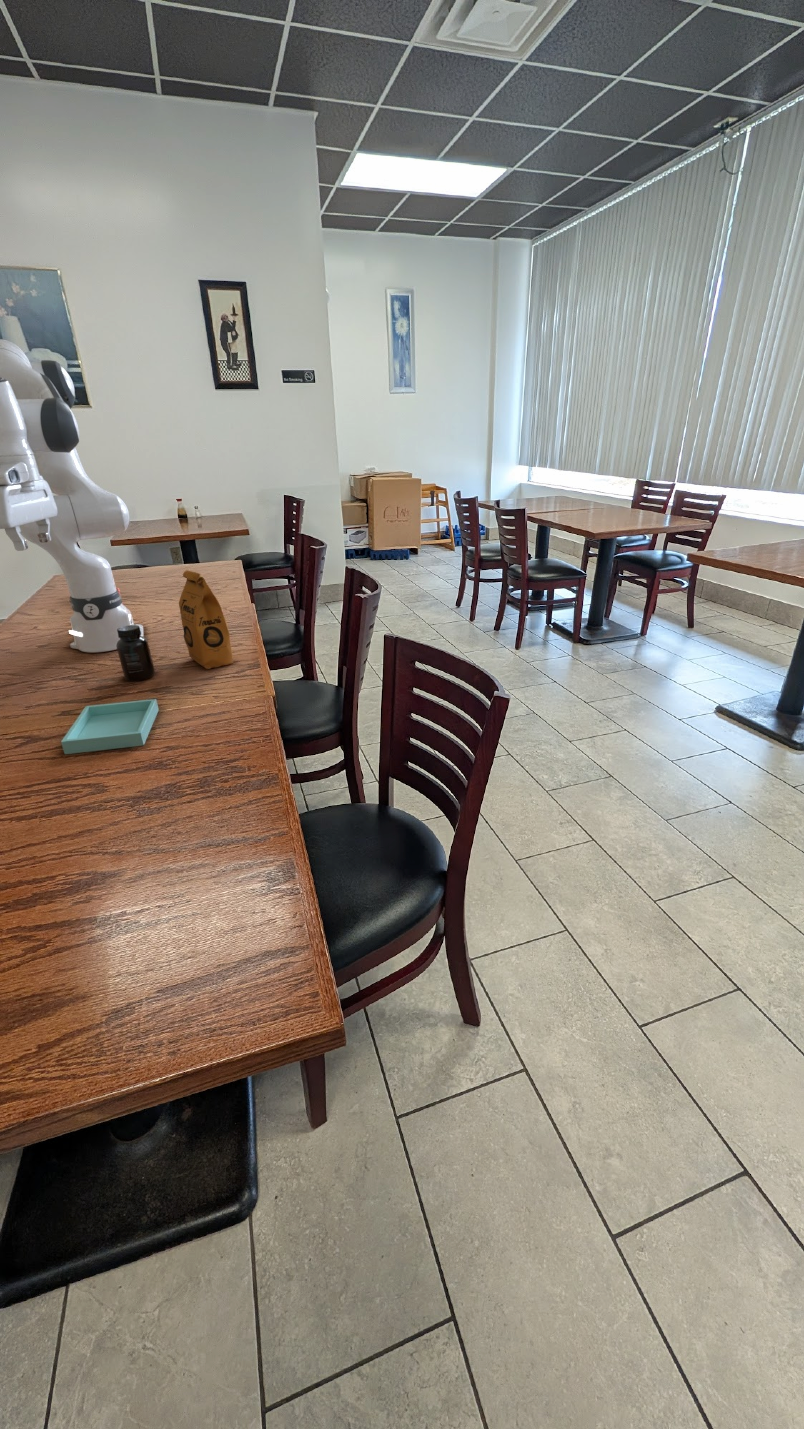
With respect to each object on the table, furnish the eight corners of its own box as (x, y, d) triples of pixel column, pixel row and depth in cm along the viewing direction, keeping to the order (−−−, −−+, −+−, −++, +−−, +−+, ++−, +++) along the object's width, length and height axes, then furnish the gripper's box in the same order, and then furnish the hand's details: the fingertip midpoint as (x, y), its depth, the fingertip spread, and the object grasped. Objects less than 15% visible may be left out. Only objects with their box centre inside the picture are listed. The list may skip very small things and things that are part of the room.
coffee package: (198, 673, 140) (180, 581, 130) (185, 658, 149) (167, 571, 140) (239, 663, 145) (224, 574, 135) (224, 650, 154) (209, 566, 144)
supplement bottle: (161, 672, 141) (150, 624, 136) (141, 683, 135) (129, 633, 130) (138, 669, 143) (127, 622, 138) (118, 680, 137) (105, 631, 132)
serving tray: (89, 717, 119) (85, 705, 118) (158, 710, 122) (156, 698, 120) (64, 754, 106) (60, 741, 104) (143, 745, 108) (140, 732, 107)
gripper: (23, 470, 122) (43, 538, 128) (-37, 476, 104) (-10, 555, 110) (54, 468, 122) (73, 537, 128) (0, 474, 104) (24, 554, 110)
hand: (34, 546), depth 119 cm, fingers open, 8 cm apart
